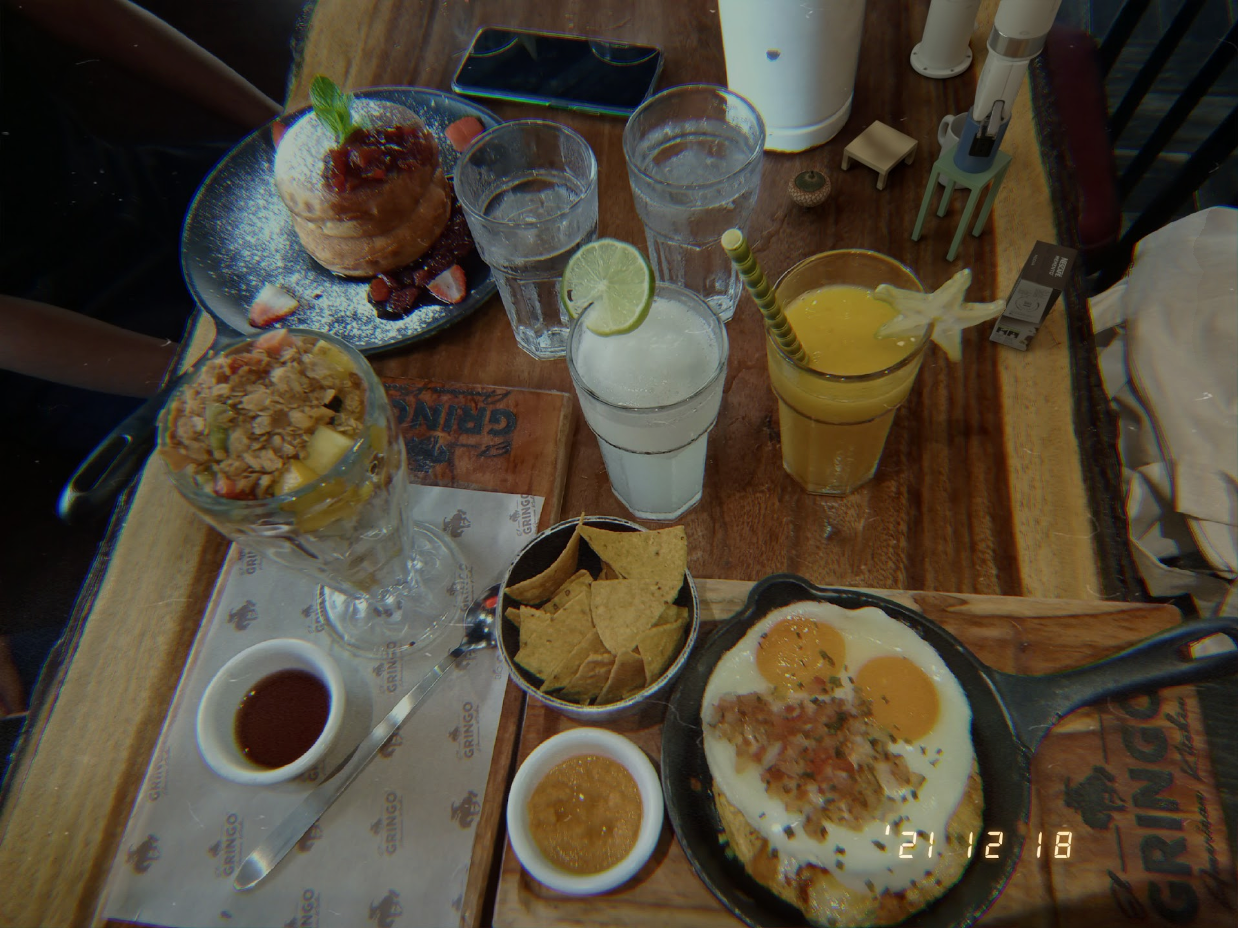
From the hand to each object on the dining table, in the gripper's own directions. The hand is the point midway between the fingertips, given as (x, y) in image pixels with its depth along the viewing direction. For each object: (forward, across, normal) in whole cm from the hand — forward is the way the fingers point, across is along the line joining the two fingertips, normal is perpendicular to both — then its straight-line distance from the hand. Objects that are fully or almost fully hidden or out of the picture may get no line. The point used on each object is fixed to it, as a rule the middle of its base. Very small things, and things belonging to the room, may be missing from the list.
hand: (980, 139), depth 119 cm
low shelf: (+22, -17, -15) cm, 32 cm away
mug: (+22, -18, -1) cm, 29 cm away
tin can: (+4, 0, 0) cm, 4 cm away
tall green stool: (+22, 0, 0) cm, 22 cm away
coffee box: (+22, +19, +14) cm, 32 cm away
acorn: (+22, -3, -27) cm, 35 cm away
